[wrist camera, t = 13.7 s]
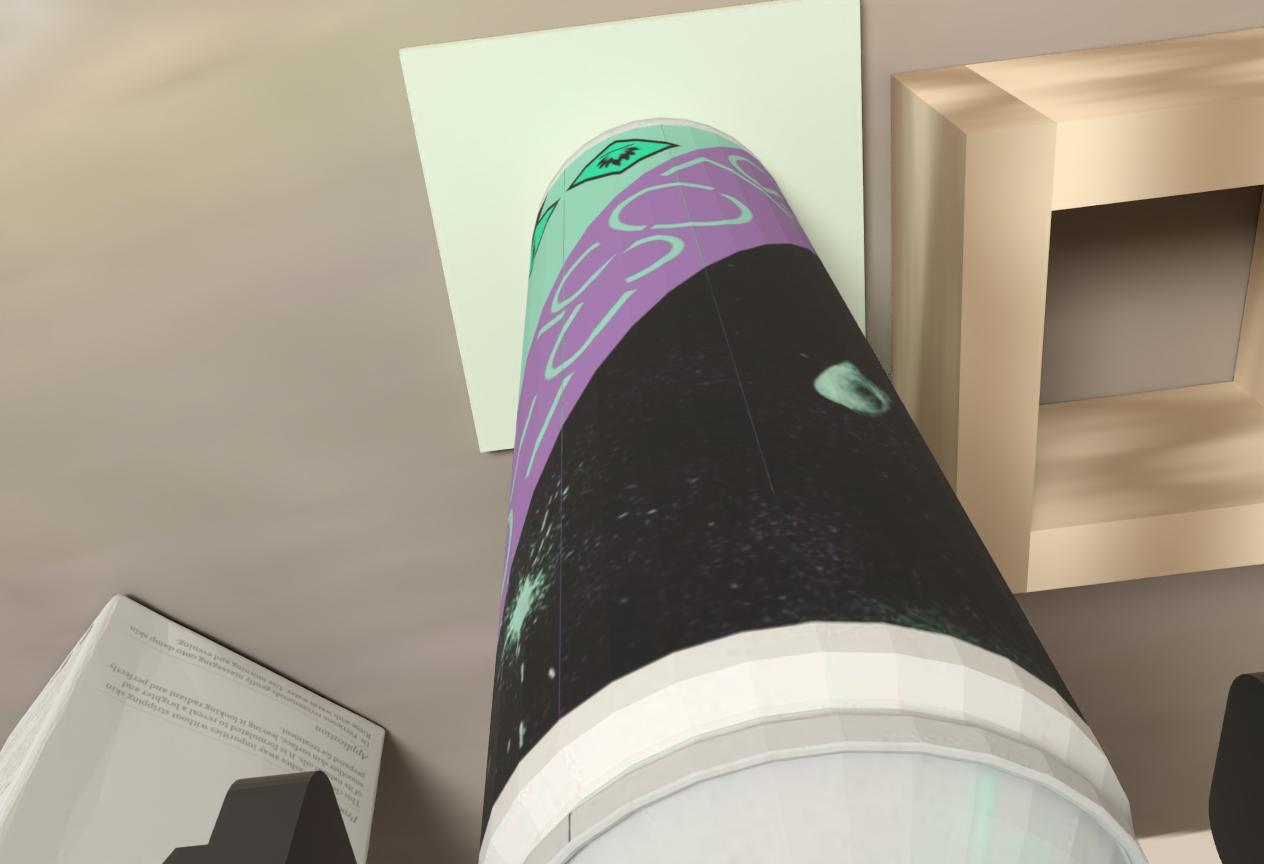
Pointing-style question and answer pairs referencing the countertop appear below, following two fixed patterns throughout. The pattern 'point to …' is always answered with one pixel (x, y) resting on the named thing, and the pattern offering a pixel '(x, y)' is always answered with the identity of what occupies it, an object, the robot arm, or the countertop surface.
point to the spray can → (749, 564)
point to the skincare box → (165, 746)
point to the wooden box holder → (1016, 295)
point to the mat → (607, 98)
